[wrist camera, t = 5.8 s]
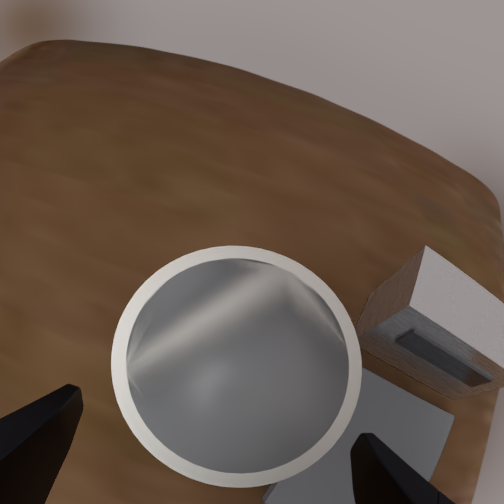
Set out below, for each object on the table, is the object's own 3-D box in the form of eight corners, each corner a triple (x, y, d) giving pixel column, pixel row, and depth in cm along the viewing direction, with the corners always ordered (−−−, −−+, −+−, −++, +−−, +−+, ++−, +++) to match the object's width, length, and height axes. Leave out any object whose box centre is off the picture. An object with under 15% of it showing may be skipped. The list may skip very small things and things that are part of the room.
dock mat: (387, 540, 13) (395, 543, 12) (261, 498, 14) (264, 502, 14) (446, 417, 18) (454, 416, 17) (340, 361, 19) (346, 358, 18)
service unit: (451, 401, 19) (521, 384, 12) (348, 344, 20) (407, 308, 14) (465, 351, 21) (529, 322, 15) (370, 291, 22) (426, 242, 16)
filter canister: (272, 419, 17) (398, 418, 6) (189, 449, 15) (166, 521, 4) (239, 341, 19) (301, 219, 8) (158, 368, 17) (84, 281, 6)
